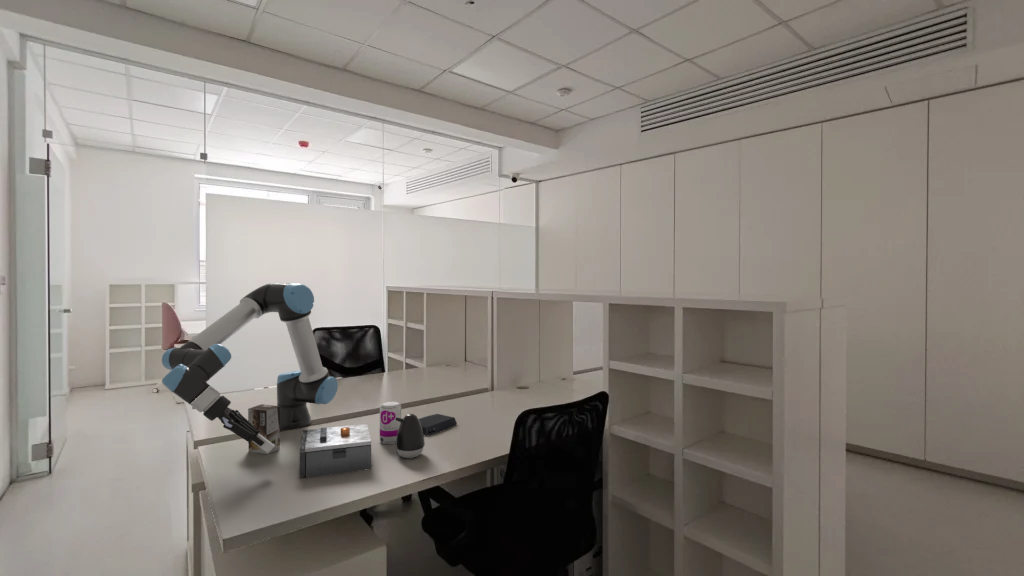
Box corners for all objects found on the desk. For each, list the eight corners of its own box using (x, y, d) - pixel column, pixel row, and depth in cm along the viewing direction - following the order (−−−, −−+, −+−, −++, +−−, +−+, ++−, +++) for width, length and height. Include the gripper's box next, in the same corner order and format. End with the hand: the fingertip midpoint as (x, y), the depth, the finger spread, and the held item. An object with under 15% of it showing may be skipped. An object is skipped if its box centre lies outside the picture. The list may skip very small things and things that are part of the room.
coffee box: (280, 448, 174) (280, 405, 174) (266, 454, 168) (266, 410, 168) (262, 445, 177) (262, 403, 177) (247, 451, 171) (247, 407, 170)
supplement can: (395, 445, 178) (395, 406, 178) (375, 444, 180) (375, 405, 179) (404, 438, 186) (404, 401, 186) (385, 437, 188) (385, 400, 187)
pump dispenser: (393, 452, 171) (393, 411, 171) (421, 449, 175) (421, 409, 174) (397, 462, 161) (397, 419, 161) (427, 458, 165) (427, 416, 165)
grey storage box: (305, 480, 147) (305, 454, 146) (308, 453, 169) (309, 431, 169) (371, 471, 154) (371, 447, 154) (366, 447, 176) (366, 425, 176)
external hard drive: (405, 431, 196) (405, 422, 196) (436, 420, 212) (436, 411, 212) (427, 437, 189) (427, 427, 189) (458, 425, 205) (458, 416, 205)
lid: (299, 477, 148) (299, 442, 148) (302, 455, 166) (303, 424, 166) (371, 467, 156) (371, 435, 156) (366, 447, 174) (366, 418, 174)
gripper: (207, 407, 152) (264, 451, 159) (196, 419, 140) (259, 465, 147) (225, 390, 154) (281, 434, 160) (216, 399, 142) (278, 447, 148)
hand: (271, 449), depth 153 cm, fingers closed
